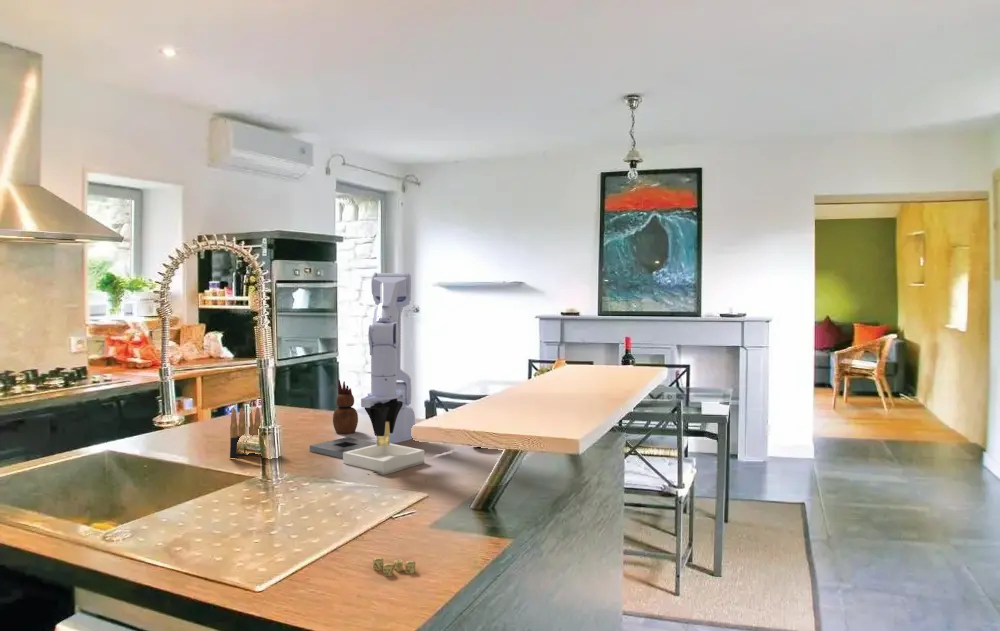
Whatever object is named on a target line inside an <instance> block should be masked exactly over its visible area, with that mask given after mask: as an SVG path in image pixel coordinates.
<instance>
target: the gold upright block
mask: <svg viewBox="0 0 1000 631" xmlns="http://www.w3.org/2000/svg"><path fill="white" fill-rule="evenodd" d="M375 438H376V441H375V443H376V445H377V446H388V445H390V420H386V423H385V433H384V436H376V437H375Z"/></svg>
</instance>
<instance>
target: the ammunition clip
mask: <svg viewBox="0 0 1000 631" xmlns="http://www.w3.org/2000/svg"><path fill="white" fill-rule="evenodd" d="M243 411H244V408H243V407H241V408H240V409H239V415H238V416H239V417H238V418H239V419H238V418H237V413H236V409H235V407H233V408H232V410H231V416H230V426H229V427H230V430H229V435H230V440H229V441H230V446H229V447H230V448H229V459H230V458H239V457H249V456H250V457H251V456H259V455H258V454H255V453H249V454H248V456H246V455H245V454H244V453H243V452H241V451H239V448H238V449H237V442H238V440H239V438H240V437H241V436H242V435H244V434H245V426H244V417H245V412H244V413H243ZM276 416H277V415H276V414H275V417H276ZM237 420H238V422H237ZM261 420H262V419H261V412H260V408H259V407H258V406H257V407H256V409H255V413H254V419H253V411H252V409H251V413H250V427H249V434H250V435H252V436H253V435H258V429H259V426H260V423H261V424H262V422H261Z"/></svg>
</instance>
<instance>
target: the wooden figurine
mask: <svg viewBox="0 0 1000 631" xmlns="http://www.w3.org/2000/svg"><path fill="white" fill-rule="evenodd" d="M337 382H338V383H337V388H338V389H337V390H338V391H337V393H338V394H337V395H336V396H337V397H336V406H337V407H336V408H335V409H334V410H333V414H332V425H333V428H334V431H335V432H336V433H337V434H339V435H349V434H354V433H355V432H356V430H357V427H358V423H359V415H358V411H357V410H356V408H354V407H353V406H354V404H355V398H354V397H355V396H354V395H353V392H352V388H351V387H350V388H349V385H346V382H345V381H344V380H343V383H342V384H341V380H340V379H338V381H337Z"/></svg>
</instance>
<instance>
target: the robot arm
mask: <svg viewBox="0 0 1000 631" xmlns="http://www.w3.org/2000/svg"><path fill="white" fill-rule="evenodd" d="M370 287H371V295H372V298H373V301H374V303H375V305H376V306H375V309H374V312H373V320H372V325H371V324H369V326H368V344H369V345H368V346H369V355H370V380H371V381H370V385H371V386H370V392H369V393H367V396H365V397H362V398H360V407H361V408H364V410H365V411H366V413H367V415H368V417H369V419H370V422H371V425H372V429H373V433H374V436H384V433H385V423H386V420H390V443H391V444H397V443H401V442H405V441H409V440H412V436H411V428H412V426H413V425H415V426H416V415H415V411H414V409H413V408H412V406H410V405H411V403H412V382H411V381H412V379H411V376H410V375H409V374H408V373H406V371H404V370H403V369H401V355H402V354H401V352H402V350H401V348H402V347H401V346H402V345H401V343H402V339H401V337H402V336H401V334H402V332H401V331H402V328H401V327H402V323H401V322H402V319H401V318H402V312H403V309H404V307H407V306H408V305H410V301H411V295H412V294H411V293H412V277H411V274H410V273H409V272H405V273H403V272H398V273H397V272H396V273H395V272H391V273H390V272H373V273H372V275H371V286H370ZM371 440H372V441H375V442H376V437H375V438H371Z"/></svg>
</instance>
